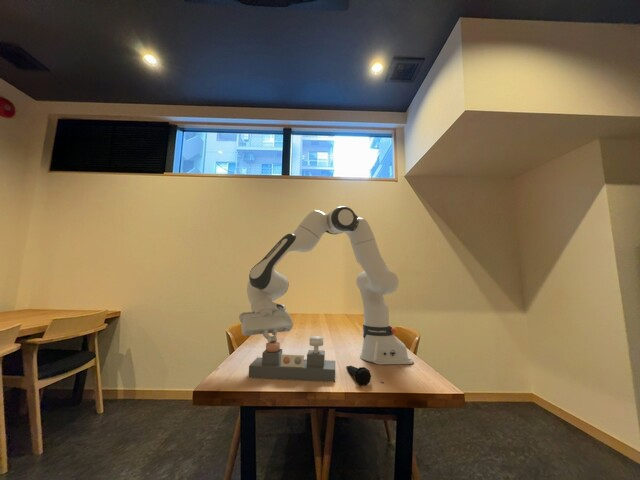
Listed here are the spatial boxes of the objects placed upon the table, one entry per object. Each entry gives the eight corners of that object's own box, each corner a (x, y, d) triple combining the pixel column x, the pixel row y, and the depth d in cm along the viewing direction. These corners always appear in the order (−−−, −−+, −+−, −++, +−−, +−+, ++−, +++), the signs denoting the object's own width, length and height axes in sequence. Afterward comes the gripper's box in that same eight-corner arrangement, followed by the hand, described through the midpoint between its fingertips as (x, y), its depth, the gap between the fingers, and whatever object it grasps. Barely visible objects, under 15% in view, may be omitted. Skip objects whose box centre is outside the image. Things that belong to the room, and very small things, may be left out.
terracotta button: (280, 358, 103) (281, 342, 104) (277, 363, 98) (278, 345, 99) (267, 358, 103) (268, 341, 104) (263, 362, 98) (264, 344, 99)
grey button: (323, 353, 102) (323, 336, 103) (322, 357, 97) (322, 339, 98) (309, 352, 103) (310, 335, 103) (308, 356, 98) (308, 338, 98)
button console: (335, 371, 103) (335, 349, 104) (334, 381, 94) (335, 357, 95) (256, 368, 105) (257, 346, 106) (248, 377, 96) (249, 353, 97)
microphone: (343, 377, 107) (361, 390, 88) (338, 362, 108) (355, 372, 89) (355, 371, 109) (376, 383, 90) (350, 356, 110) (370, 366, 91)
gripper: (240, 307, 104) (248, 339, 94) (288, 305, 115) (299, 334, 106) (235, 318, 107) (242, 350, 97) (283, 315, 118) (293, 343, 109)
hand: (272, 341), depth 102 cm, fingers closed, pressing on terracotta button
